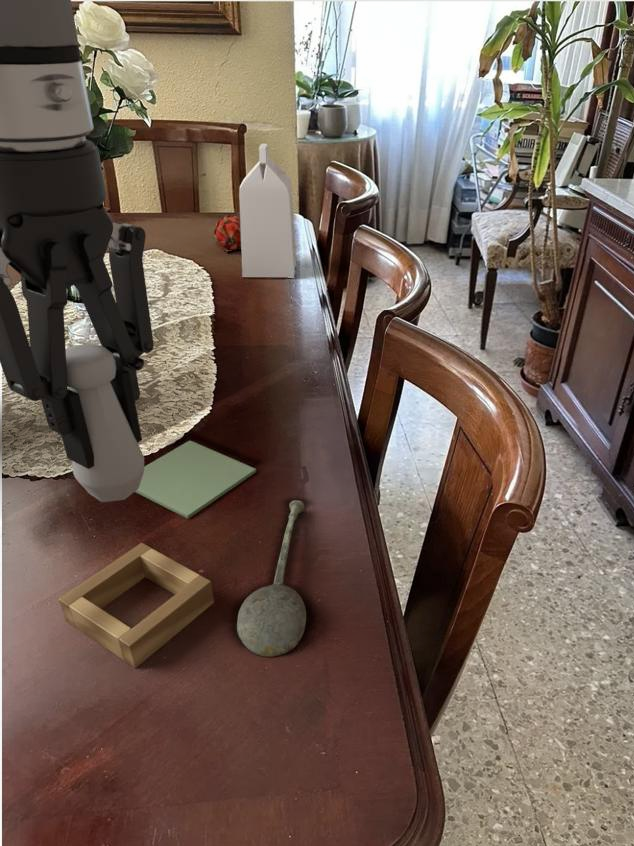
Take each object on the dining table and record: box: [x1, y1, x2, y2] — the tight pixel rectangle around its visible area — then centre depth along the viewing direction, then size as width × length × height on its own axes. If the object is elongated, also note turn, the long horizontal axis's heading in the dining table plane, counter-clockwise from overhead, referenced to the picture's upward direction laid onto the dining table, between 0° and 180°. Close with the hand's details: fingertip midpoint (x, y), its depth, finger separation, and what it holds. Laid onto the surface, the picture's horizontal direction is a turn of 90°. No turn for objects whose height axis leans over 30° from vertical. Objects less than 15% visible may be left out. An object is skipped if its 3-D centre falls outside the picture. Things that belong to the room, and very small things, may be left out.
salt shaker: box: [66, 343, 145, 503], centre depth 54 cm, size 6×6×13 cm
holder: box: [58, 542, 215, 669], centre depth 64 cm, size 10×10×3 cm
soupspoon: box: [236, 499, 307, 658], centre depth 69 cm, size 22×3×7 cm
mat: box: [134, 440, 257, 520], centre depth 84 cm, size 12×12×1 cm
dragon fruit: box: [213, 215, 241, 253], centre depth 163 cm, size 8×8×12 cm
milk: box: [238, 143, 297, 279], centre depth 145 cm, size 12×12×26 cm
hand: (105, 448), depth 56 cm, fingers closed on salt shaker, 4 cm apart
